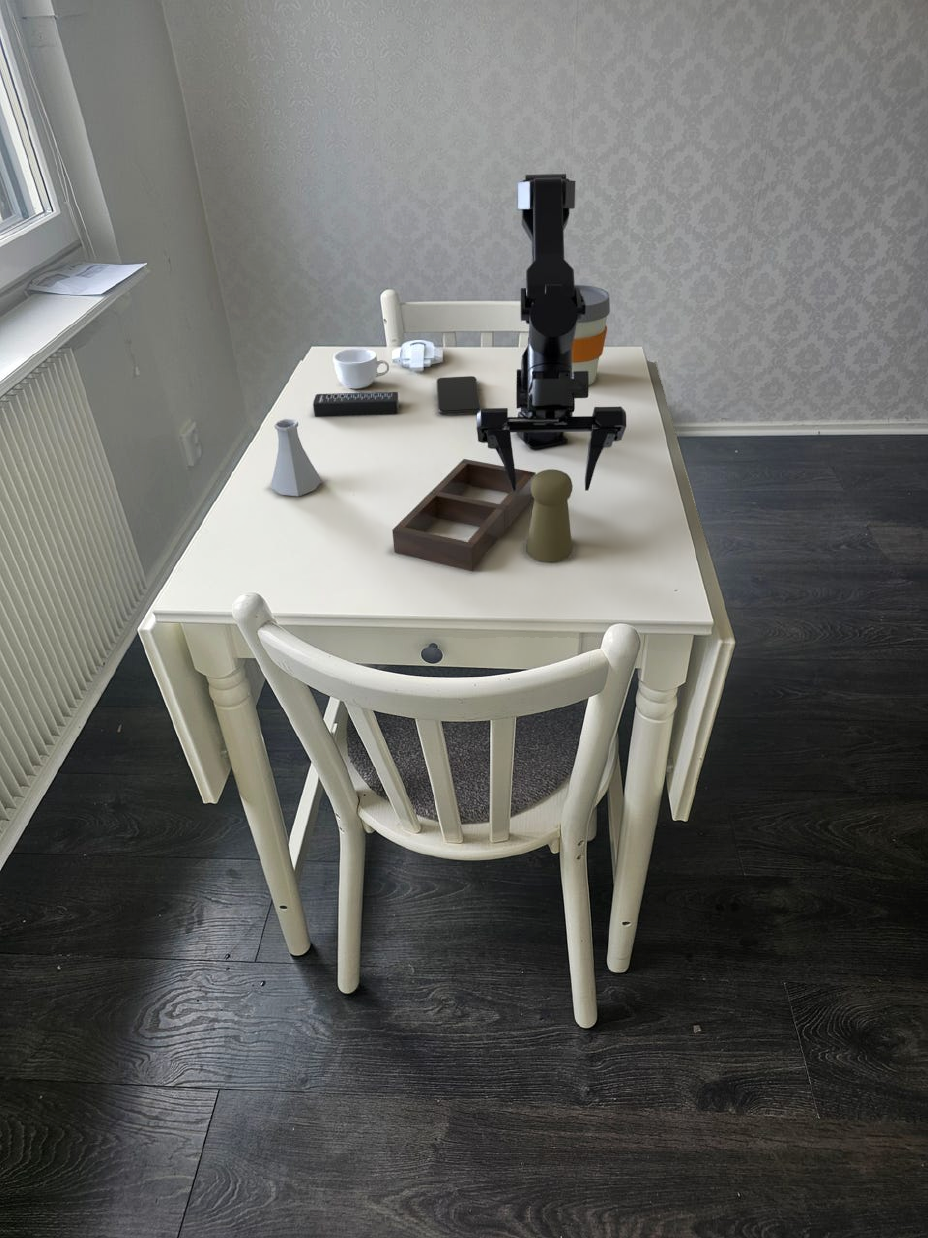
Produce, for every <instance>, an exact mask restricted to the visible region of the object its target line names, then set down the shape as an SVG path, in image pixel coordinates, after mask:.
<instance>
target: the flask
mask: <svg viewBox="0 0 928 1238" xmlns="http://www.w3.org/2000/svg"><path fill="white" fill-rule="evenodd" d="M273 427H274V429H275V430H276V431H277V437H278V442H277V443H278V444H277V445H278V447H277V455H276V460H275V464H274V465H275V466H274V470H273V474H272V478H271V482H270V489H271V490H273V491H275V492H276V493H277V494H278V495H281V496H292V497H300V496H302V495H305V494H308V493H310V492H313V491H315V490H316V489H317V488H318V487H319V485H320V484H321V483H322V478H321V476H320V474H319V473H318V471H317V469H316V468H315V466H314V465H313V463H312V462H311V460H310V458H309V456H308V454H307V452H306V451H305V448H304V447H303V445H302V442H301V440H300V436H299V433H298V427H299V421H297V420H295V419H291V418H290V419H289V418H285V419H281V420H278V421H277V422H276V423H275V424H274V425H273Z"/></svg>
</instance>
